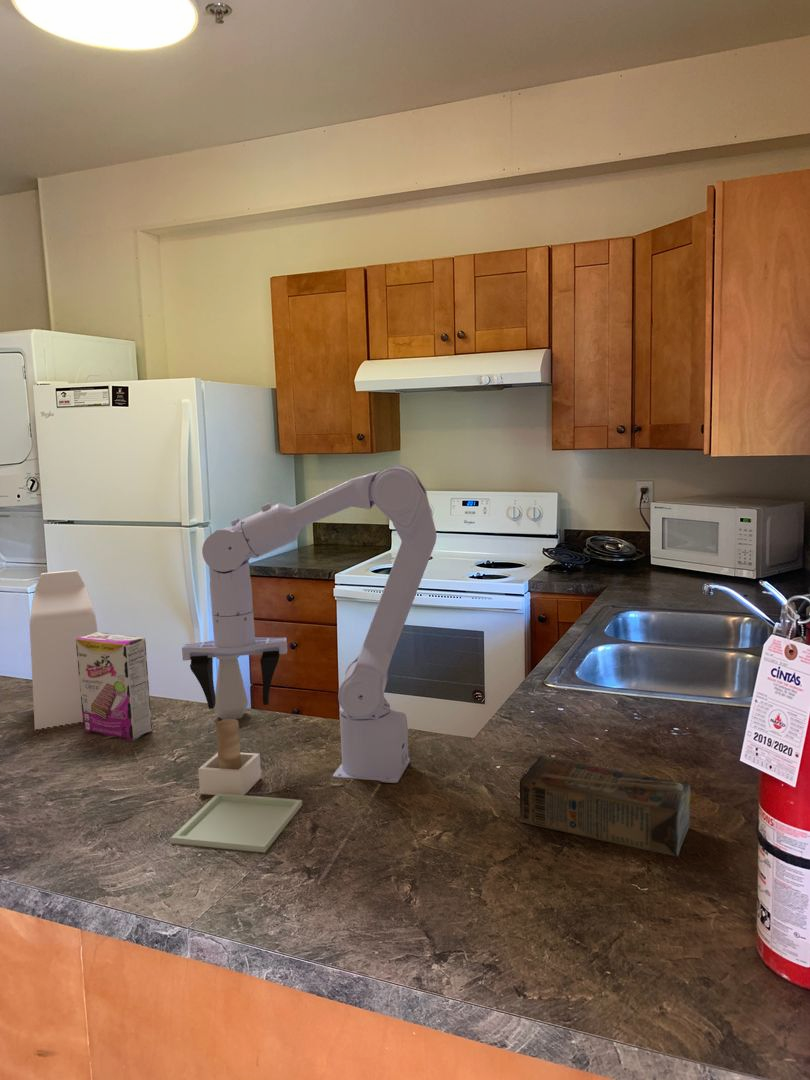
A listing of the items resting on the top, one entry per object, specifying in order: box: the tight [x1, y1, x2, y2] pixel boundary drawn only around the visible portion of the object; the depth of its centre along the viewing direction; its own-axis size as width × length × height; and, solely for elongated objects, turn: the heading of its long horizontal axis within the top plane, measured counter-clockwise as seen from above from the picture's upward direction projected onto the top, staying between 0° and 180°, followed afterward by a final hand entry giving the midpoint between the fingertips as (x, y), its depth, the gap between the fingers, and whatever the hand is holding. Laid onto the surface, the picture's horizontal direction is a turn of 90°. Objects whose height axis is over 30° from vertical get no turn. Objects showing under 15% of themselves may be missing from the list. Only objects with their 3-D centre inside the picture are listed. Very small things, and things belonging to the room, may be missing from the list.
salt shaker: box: [214, 656, 248, 720], centre depth 138 cm, size 6×6×13 cm
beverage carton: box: [519, 755, 691, 857], centre depth 95 cm, size 8×19×7 cm, turn 61°
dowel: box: [215, 719, 241, 770], centre depth 109 cm, size 3×3×9 cm
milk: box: [29, 569, 98, 731], centre depth 141 cm, size 12×12×26 cm
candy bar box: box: [76, 632, 153, 741], centre depth 132 cm, size 11×5×16 cm, turn 65°
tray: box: [170, 793, 303, 854], centre depth 98 cm, size 12×12×1 cm
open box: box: [197, 751, 262, 796], centre depth 109 cm, size 6×6×4 cm
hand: (239, 704), depth 114 cm, fingers open, 7 cm apart
